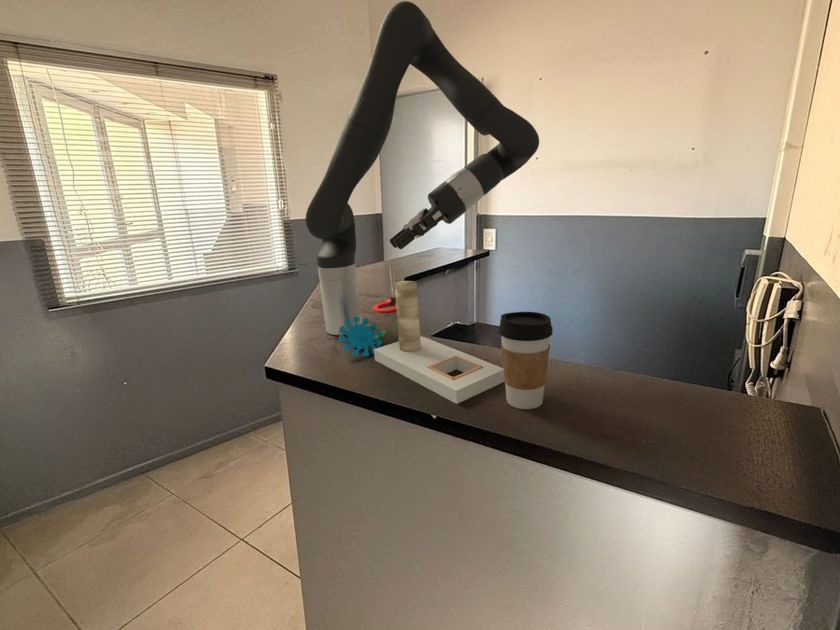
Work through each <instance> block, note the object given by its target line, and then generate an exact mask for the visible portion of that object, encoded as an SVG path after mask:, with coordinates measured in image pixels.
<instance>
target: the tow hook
mask: <svg viewBox="0 0 840 630" xmlns="http://www.w3.org/2000/svg"><path fill="white" fill-rule="evenodd" d="M393 268H394V267H393V264H392V263H389V276H390V277H389V278H390V284H391V285H390V286H391V289H390V290H391V296H390V299H389V298H388V299H385V301H383V302H379V303H376V304H374V305H373V306H372V311H373V310H374V311H373V312H375V311H377V312H376V313H378V312H385V313H384V314H388V313H387V312H389V313H392V312H397V307H396V295H395V283H396V281H395V280H396V279H395V273H394V269H393ZM390 305H392V306H394V307H390V308H381V307H385V306H390Z"/></svg>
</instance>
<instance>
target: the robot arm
mask: <svg viewBox="0 0 840 630" xmlns="http://www.w3.org/2000/svg"><path fill="white" fill-rule="evenodd" d="M376 39H377V40H376V43H375V46H374V49H373V52H372V56H371V59H370V62H369V65H368V68H367V71H366V73H365V76H364V79H363V80H362V82H361V85H360V86H359V90H358V92H357V94H356V97H355V100H354V102H353V104H352V107H351V109H350V112H349V113H348V116H347V119H346V121H345V124H344V125H343V129H342V131H341V133H340V136H339V139H338V142H337V144H336V147H335V149H334V151H333V154H332V157H331V159H330V162H329V164H328V167H327V170H326V172H325V174H324V176H323V179H322V180H321V182H320V184H319V186H318V188H317V190H316V192H315V193H314V195H313V197H312V199H311V201H310V203H309V205H308V207H307V209H306V213H305V225H306V228H307V230H308V232H309V233H310V234H311V236H313V237H314V238H316V239H318V240H321V247H320V250H319V252H318V254H317V255H316V263H317V264H316V265H317V271H318V277H319V286H320V293H321V301H322V306H323V307H322V309H323V316H324V324H325V330H326V331H325V332H326V333H327V334H329V335H332V336H340V335H344V336H347V335H346V334H344V333H341V332H339V329H340V327H341V326H344V327H345V330H346V331H349V329H348V327H347V326H346V325H345V324H344V321H345V320H350V321H351V322H350V326H352V327H353V326H354V322H353V318H354V317H359V321H358V322H357V324H358V325H360V324H362V323H363V322H362V315H361V305H360V296H359V287H358V277H357V271H356V270H357V269H356V259H355V258H356V251H357V237H356V223H355V222H356V221H355V216H354V212H353V209H352V207H351V205H350V204H349V203H348V202H349V201H350V198H351V196H352V194H353V192H354V190H355V188H356V187H357V185H358V184H360V182H361V180H362V179H363V178H364V177H365V176H366V174H367V173H368V172H369V170H370V169H371V168H372V166H373V165H374V164H375V162H376V160H377V159H378V157H379V156H380V153H381V152H382V149H383V146H384V145H385V142H386V140H387V138H388V135H389V133H390V130H391V127H392V122H393V117H394V113H395V105H396V99H397V96H398V92H399V88H400V86H401V84H402V80H403V78H404V77H405V75H406V73H407V71H408V68H409V66H410V65H411V66H412V67H413V68H415V69H416V70H417V71H419V72H421V73H422V74H423V75H424V76H426V77H427V78H428V79H429V80H430V81H431V82H432V83H433V84H434V85H435V86H436V87H437V88H438V89H439V90H440V91H441V92H442V93H443V95H444V96H445V97H446V99H448V102H450V104H451V105H452V106H453V107H454V109H455V110H456V111H457V112H458V113H459V115H461V116H462V117H463V118H464V120H466V121H467V123H469V125H470V126H471V127H472V128H474V129H475V131H476V132H478V133H479V134H480V135H482V136H491V137H493V138H494V139H495V140H496V141H497V142H499V143H497V144H496V145H495V146H494V147H493V148H492V149H489V151H487V153H482V154H480V155H478V156H477V157H476V158H474V159H473V160H472V161H470V162H469V163H468V164H466V165H465V166H464V167H463V168H461V169H460V170H458V171H456V172H455V173H453V174H452V175H451V176H450V177H447V179H446V180H444V181H443V182H442V183H441V184H439V185H438V186H437V187H435V188H434V189H433V190H432V191H431V192H429V193H427V200H428V202H429V204H430V208H428V209H427V207H426V208H423V209H422V210H420V211H418V212H417V215H415V216H413V217H412V218H411V219H410V220H409V221H408V223H406V224H405V225H404V226H403V227H402V229H401V230H400V231H399V232H397V233H396V234H395V235H394V236H393V237H391V238H389V244H390V245H391V246H392V248H395V249H397V248H398V249H399V250H402V249H404V248H406V247H407V246H408V245H409V244H410V243H412V241H414V240H416V239H419V238H420V237H422V236H423V237H424V235H426V234H427V233H428V232H430V230H432V229H433V228H435V227H436V226H437V225H438V224H439V222H441V221H443V222H444V223H445V224H447V225H451V224H453V223H454V222H455V221H456V220H457V219H459V218H460V217H461V216H463V214H465V213H467V211H468V210H470V209H471V208H472V207H474V205H476V204H477V203H478V202H479V201H480V200H481V199H482V198H484V196H486V194H488V193H489V192H491V191H492V190H493V189H494V188H495V187H497V185H499V184H500V183H501V181H504V180H505V179H506V178H508V177H509V176H511V175H512V174H514V173H515V172H517V171H519V169H521V168H522V167H523V166H524V165H526V164H527V163H528V161H530V159H531V158H532V157H533V156H534V155H535V154H536V152H537V151H538V149H539V146H540V137H539V133H538V132H537V130H536V128H535V127H534V125H533V124H532V123H531V122H530V121H528V120H527V119H526V118H524V117H523V116H521V115H520V114H518V113H516V112H515V111H513V110H512V109H510V108H509V107H506V106H505V105H504V104H503V103H502V102H501V101H500V100H499V98H497V97H496V95H494V93H492V92H491V90H490V89H488V88H487V86H485V84H484V83H482V82H481V80H479V79H478V78H477V77H476V76H475V75H473V74H472V73H471V72H470V71H469V70H468V69H466V67H464V66H463V65H462V63H460V62H459V61H458V60H457V59H456V58H455V57H454V56H453V54H451V52H450V51H449V49H447V47H446V46H445V45H444V43H443V42H442V40H441V39H440V38H439V36H438V34H437V33H436V31H435V30H434V28H433V26H432V23H431V21H430V19H428V17H427V16H426V14H424V12H423V10H421V8H420V7H419V6H418V5H417V4H415V3H414V2H411V1H407V0H406V1H405V0H404V1H400V2H397V3H395V4H394V5H393V6H391V8H390V9H389V10H388V11H387V13H386V14H385V16H384V18H383V21H382V23H381V25H380V29H379V32H378V35H377V38H376Z"/></svg>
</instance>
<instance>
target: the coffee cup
mask: <svg viewBox="0 0 840 630" xmlns="http://www.w3.org/2000/svg"><path fill="white" fill-rule="evenodd" d="M553 332H554V331H553V326H552V319H551V317H550V316H549V315H547V314H545V313H541V312H536V311H513V312H506V313H503V314H501V316H500V323H499V327H498V334H499V336H501V343H500V349H501V358H502V368H503V369H504V379H505V382H504V384H505V385H504V386H505V396H506V398H505V399H506V402H507V404H509V405H510V406H511V407H513V408H516V409H520V410H532V409H536V408H539V407H541V405H542V404H543V400H544V393H545V392H544V391H545V384H546V379H547V372H548V362H549V355H550V348H551V345H550V337H552V336H553Z"/></svg>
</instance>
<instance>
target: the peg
mask: <svg viewBox="0 0 840 630" xmlns="http://www.w3.org/2000/svg"><path fill="white" fill-rule="evenodd" d="M395 295H396V307H397V311H396V318H397V319H396V320H397V330H398V341H399V345H400V350H401V351H404V352H414V351H417V350H419V349H420V348H421V339H420V336H421V330H420V329H421V328H420V327H421V326H420V324H421V323H420V310H419V295H418V282H416V281H414V280H403V281H398V282H395Z"/></svg>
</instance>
